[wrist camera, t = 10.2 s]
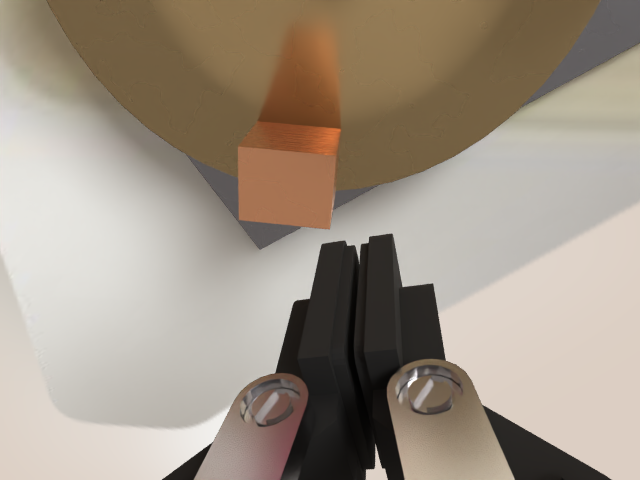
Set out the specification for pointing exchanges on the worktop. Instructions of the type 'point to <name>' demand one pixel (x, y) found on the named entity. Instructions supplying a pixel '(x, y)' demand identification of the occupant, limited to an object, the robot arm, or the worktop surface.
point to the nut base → (588, 52)
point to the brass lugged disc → (321, 83)
